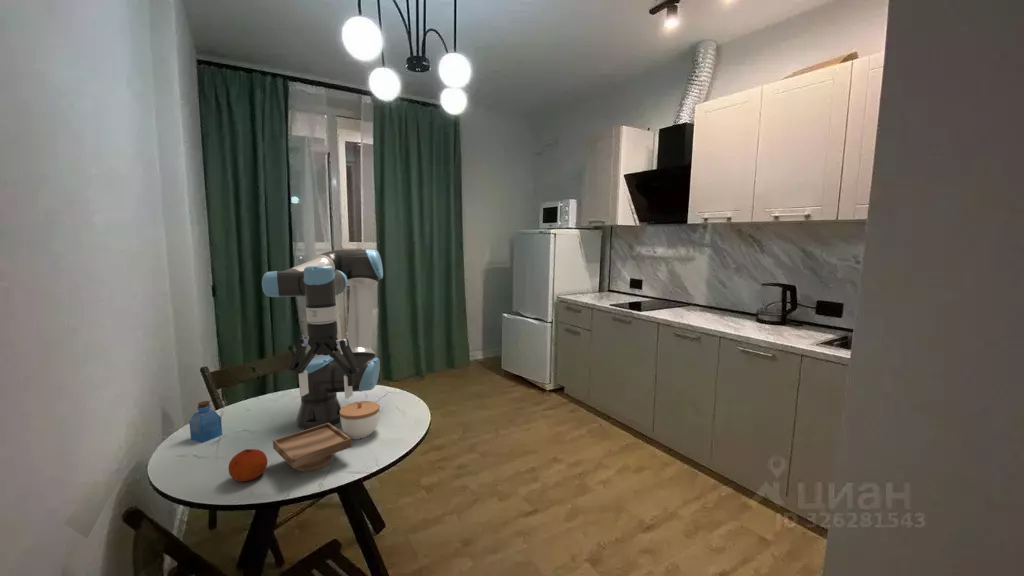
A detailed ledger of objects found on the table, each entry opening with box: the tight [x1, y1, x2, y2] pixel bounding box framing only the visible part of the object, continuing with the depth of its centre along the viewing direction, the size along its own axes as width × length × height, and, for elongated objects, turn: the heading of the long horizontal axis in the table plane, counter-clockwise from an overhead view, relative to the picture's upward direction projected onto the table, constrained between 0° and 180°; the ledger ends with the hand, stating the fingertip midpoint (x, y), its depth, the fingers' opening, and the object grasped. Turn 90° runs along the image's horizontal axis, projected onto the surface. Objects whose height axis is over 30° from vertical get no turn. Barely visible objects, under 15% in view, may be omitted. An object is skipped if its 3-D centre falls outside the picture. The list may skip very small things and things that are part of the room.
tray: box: [272, 423, 353, 473], centre depth 119 cm, size 16×16×7 cm
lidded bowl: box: [339, 400, 381, 440], centre depth 136 cm, size 13×13×11 cm
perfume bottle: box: [189, 400, 223, 444], centre depth 135 cm, size 6×6×12 cm
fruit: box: [228, 448, 268, 482], centre depth 111 cm, size 9×9×8 cm
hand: (326, 395), depth 114 cm, fingers open, 13 cm apart
